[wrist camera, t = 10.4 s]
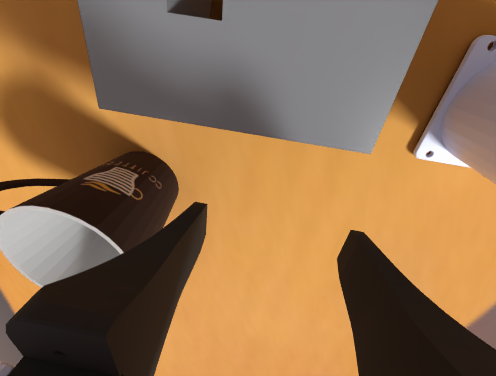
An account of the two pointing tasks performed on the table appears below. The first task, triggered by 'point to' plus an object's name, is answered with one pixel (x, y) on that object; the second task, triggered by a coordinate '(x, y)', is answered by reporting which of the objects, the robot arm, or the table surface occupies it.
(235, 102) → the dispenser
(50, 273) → the coffee mug
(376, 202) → the table surface
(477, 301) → the table surface
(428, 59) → the table surface
